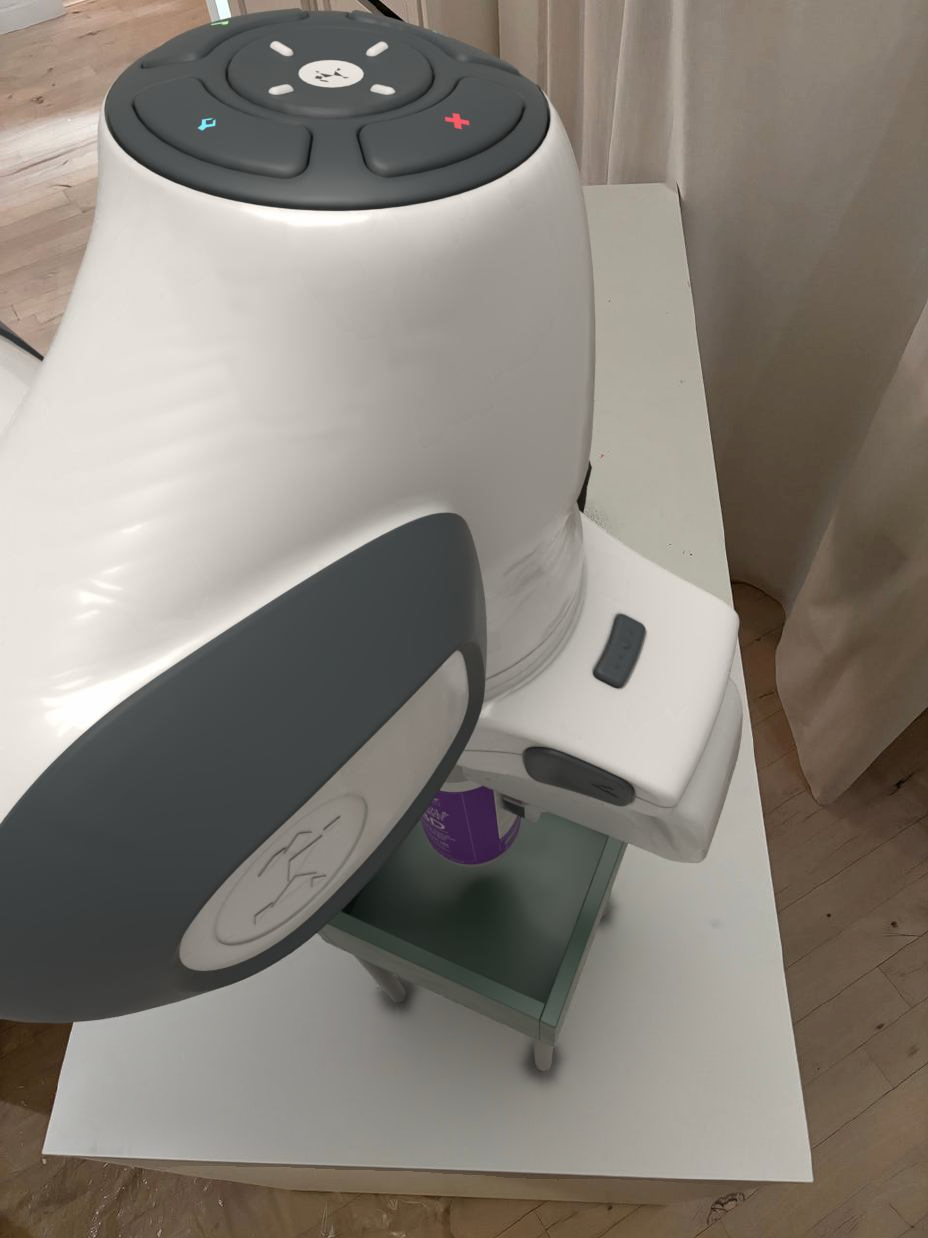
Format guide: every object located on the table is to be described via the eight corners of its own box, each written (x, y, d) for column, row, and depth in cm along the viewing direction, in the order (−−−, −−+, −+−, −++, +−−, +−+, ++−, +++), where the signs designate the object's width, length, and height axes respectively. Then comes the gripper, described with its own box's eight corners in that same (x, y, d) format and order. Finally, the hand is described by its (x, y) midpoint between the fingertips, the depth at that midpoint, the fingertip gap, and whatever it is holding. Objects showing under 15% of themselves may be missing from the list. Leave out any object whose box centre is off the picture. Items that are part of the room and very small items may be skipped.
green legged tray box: (551, 1082, 67) (555, 1028, 43) (380, 1001, 71) (293, 908, 46) (615, 902, 73) (652, 764, 48) (454, 836, 77) (412, 675, 52)
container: (409, 850, 45) (356, 719, 32) (442, 761, 47) (405, 605, 34) (504, 881, 44) (488, 758, 31) (533, 788, 46) (530, 637, 33)
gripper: (87, 580, 30) (217, 752, 41) (734, 827, 24) (670, 942, 36) (194, 435, 32) (287, 635, 44) (796, 627, 27) (718, 796, 39)
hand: (463, 775), depth 40 cm, fingers closed on container, 4 cm apart
